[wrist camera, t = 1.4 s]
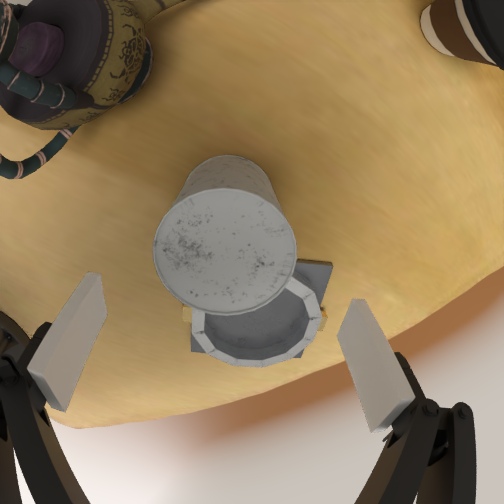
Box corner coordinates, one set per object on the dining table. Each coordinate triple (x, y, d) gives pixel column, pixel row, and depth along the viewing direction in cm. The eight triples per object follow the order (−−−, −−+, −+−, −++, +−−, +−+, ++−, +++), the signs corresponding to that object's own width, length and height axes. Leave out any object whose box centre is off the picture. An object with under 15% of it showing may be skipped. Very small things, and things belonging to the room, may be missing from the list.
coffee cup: (467, 85, 23) (538, 94, 13) (400, 51, 22) (474, 40, 12) (468, 16, 18) (532, 10, 8) (402, -21, 17) (463, -51, 6)
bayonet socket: (184, 346, 39) (182, 362, 37) (186, 247, 32) (182, 261, 29) (306, 354, 41) (309, 368, 39) (338, 263, 34) (346, 276, 31)
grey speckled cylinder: (235, 135, 27) (236, 155, 16) (291, 207, 30) (323, 268, 20) (163, 194, 29) (124, 250, 18) (221, 257, 33) (217, 334, 22)
